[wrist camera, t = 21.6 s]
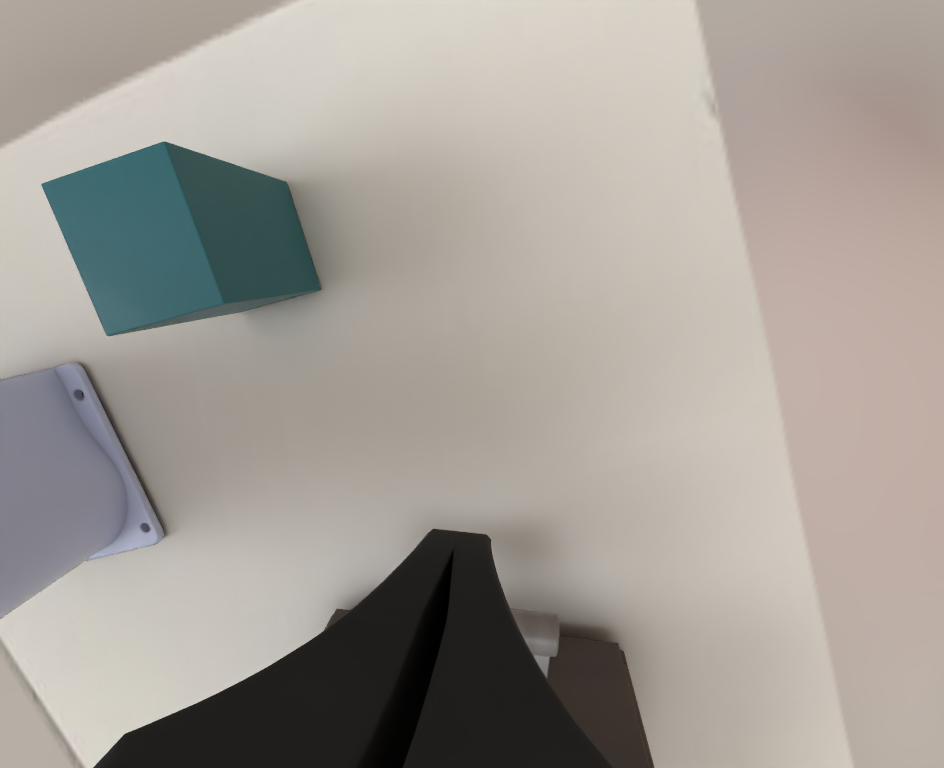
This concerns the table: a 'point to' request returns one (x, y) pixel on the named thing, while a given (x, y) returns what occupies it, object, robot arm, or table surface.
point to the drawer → (584, 685)
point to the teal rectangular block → (180, 238)
